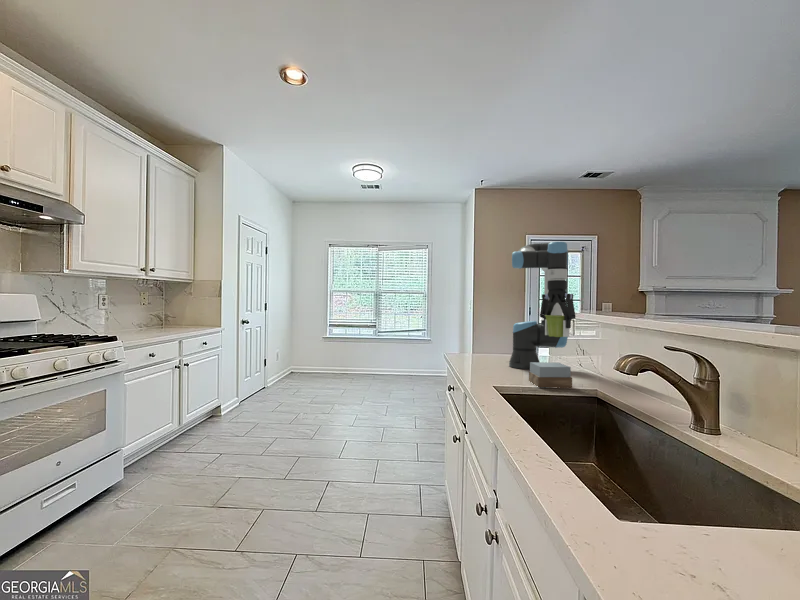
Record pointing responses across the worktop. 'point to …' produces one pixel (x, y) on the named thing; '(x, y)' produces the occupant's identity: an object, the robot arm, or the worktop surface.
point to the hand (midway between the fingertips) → (556, 335)
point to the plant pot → (555, 325)
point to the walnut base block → (551, 381)
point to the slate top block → (550, 369)
